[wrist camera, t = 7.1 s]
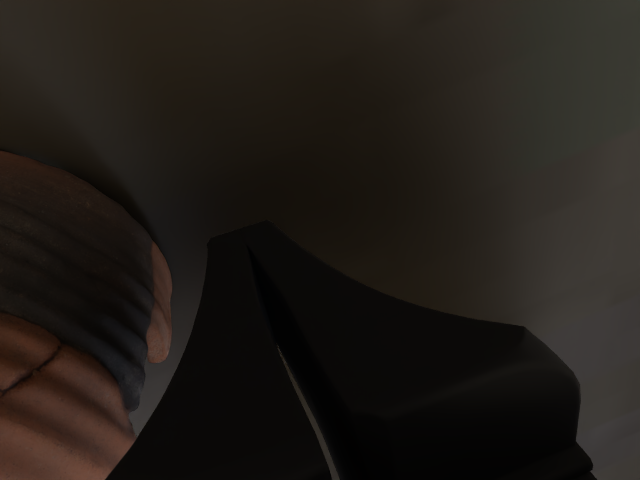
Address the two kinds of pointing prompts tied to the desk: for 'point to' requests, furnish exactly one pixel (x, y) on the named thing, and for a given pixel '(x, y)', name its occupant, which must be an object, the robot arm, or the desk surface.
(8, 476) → the pottery mug
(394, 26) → the desk surface
